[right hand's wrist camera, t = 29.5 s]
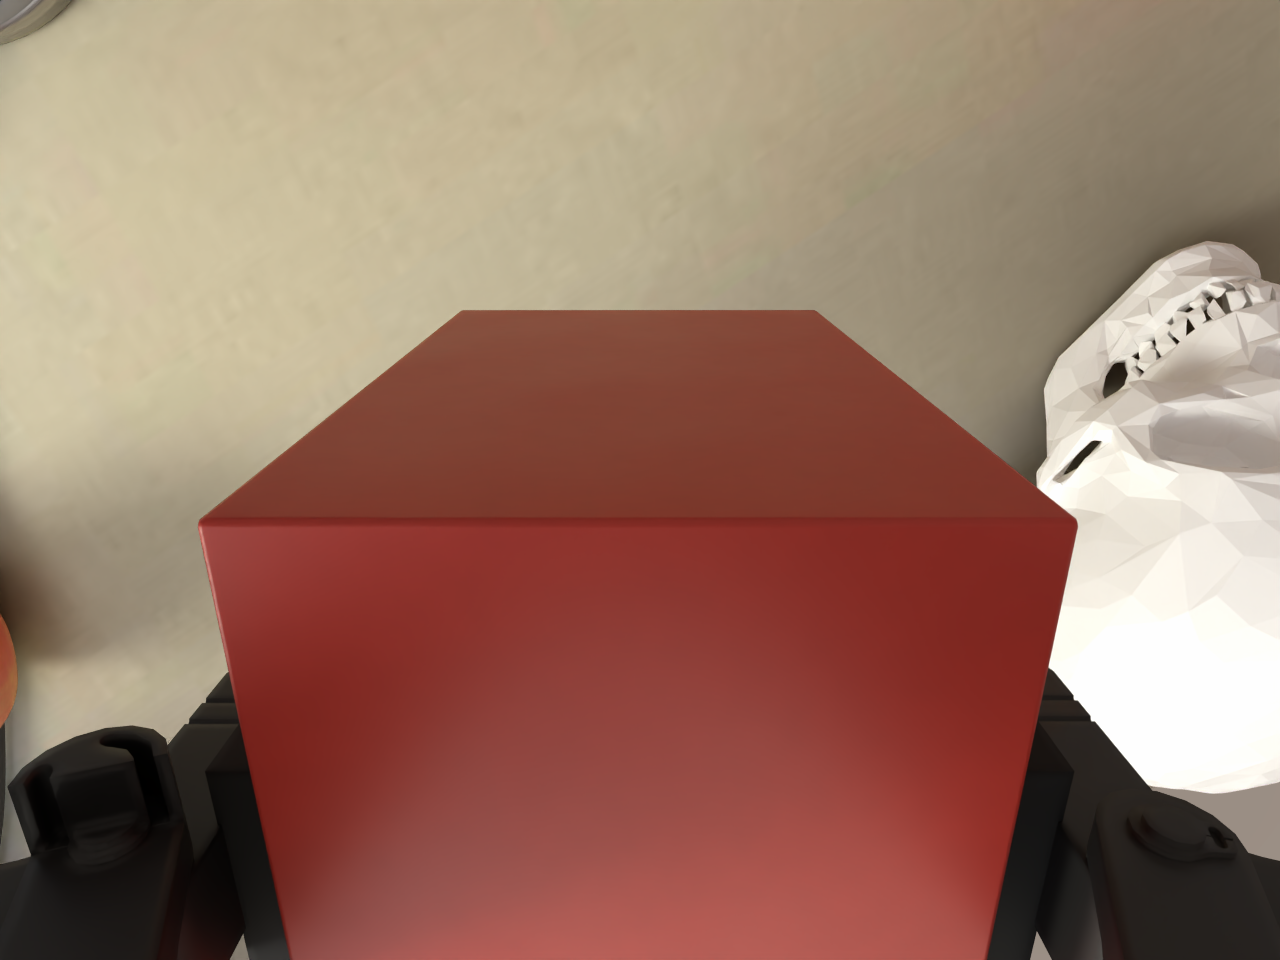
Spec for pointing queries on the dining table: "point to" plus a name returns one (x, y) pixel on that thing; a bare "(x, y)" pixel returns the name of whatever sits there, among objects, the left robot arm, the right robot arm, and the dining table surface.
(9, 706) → the apple
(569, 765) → the block
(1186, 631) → the skull
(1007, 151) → the dining table surface
